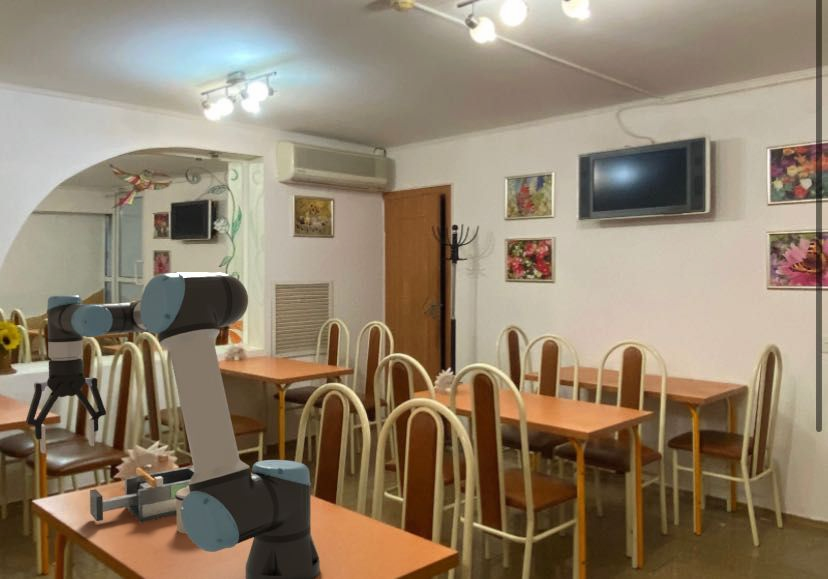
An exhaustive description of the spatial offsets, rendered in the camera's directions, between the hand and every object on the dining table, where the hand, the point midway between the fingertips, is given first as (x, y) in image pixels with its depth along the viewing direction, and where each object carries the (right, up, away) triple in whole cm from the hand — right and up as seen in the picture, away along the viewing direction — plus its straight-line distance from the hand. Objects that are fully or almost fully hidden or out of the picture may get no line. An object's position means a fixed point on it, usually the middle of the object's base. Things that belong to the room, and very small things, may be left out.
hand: (67, 448), depth 169 cm
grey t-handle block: (+11, -18, +9) cm, 23 cm away
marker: (+20, -11, +7) cm, 24 cm away
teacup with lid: (+32, -20, +1) cm, 38 cm away
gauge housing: (+19, -19, +15) cm, 31 cm away
